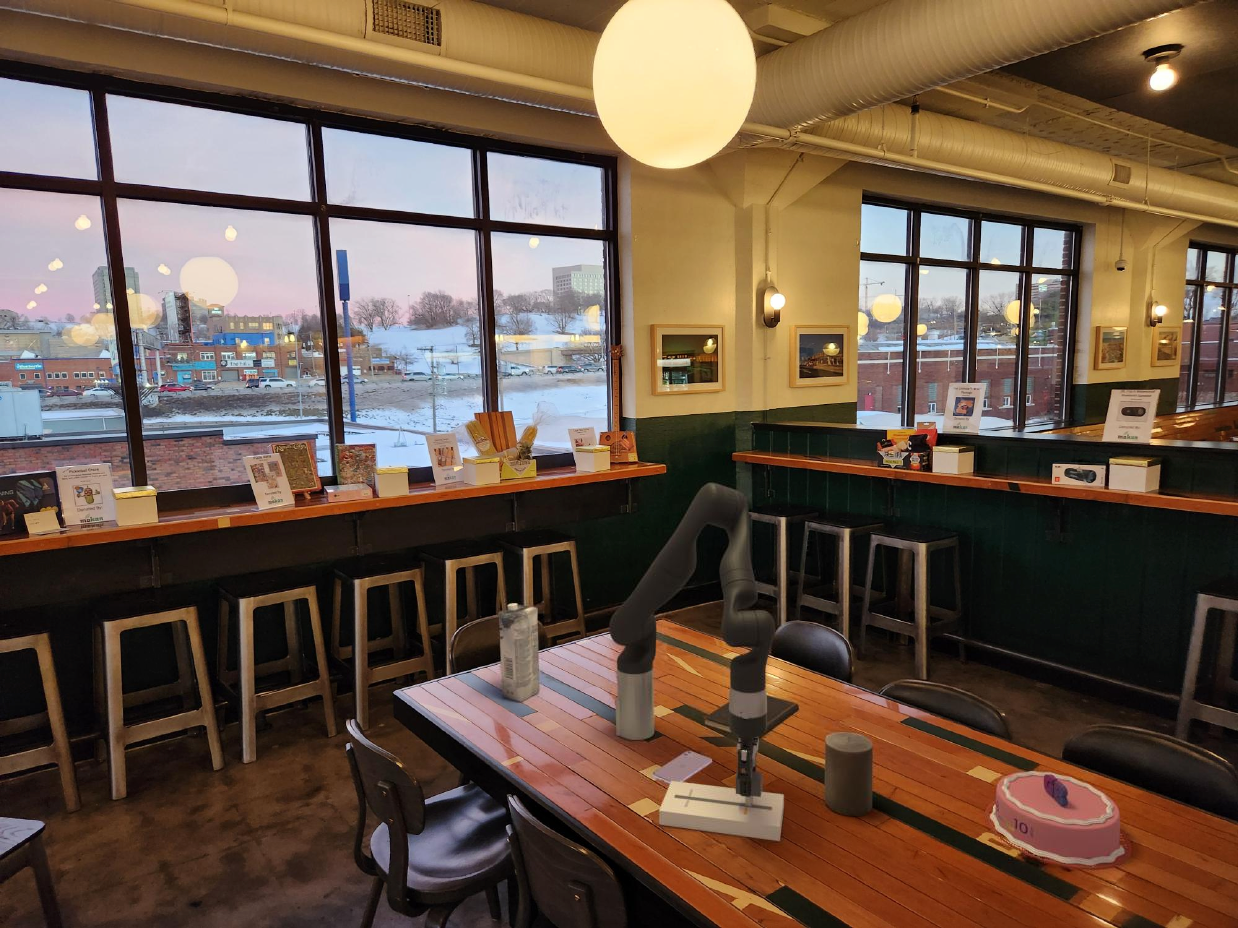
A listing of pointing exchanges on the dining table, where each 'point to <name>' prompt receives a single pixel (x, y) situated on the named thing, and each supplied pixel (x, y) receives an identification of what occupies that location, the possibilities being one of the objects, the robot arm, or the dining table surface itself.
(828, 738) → the pillar candle
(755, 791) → the fader
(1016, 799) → the cake
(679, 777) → the mobile phone
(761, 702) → the robot arm
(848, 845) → the dining table surface
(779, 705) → the hardcover book
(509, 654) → the juice carton
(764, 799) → the dimmer panel
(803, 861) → the dining table surface
